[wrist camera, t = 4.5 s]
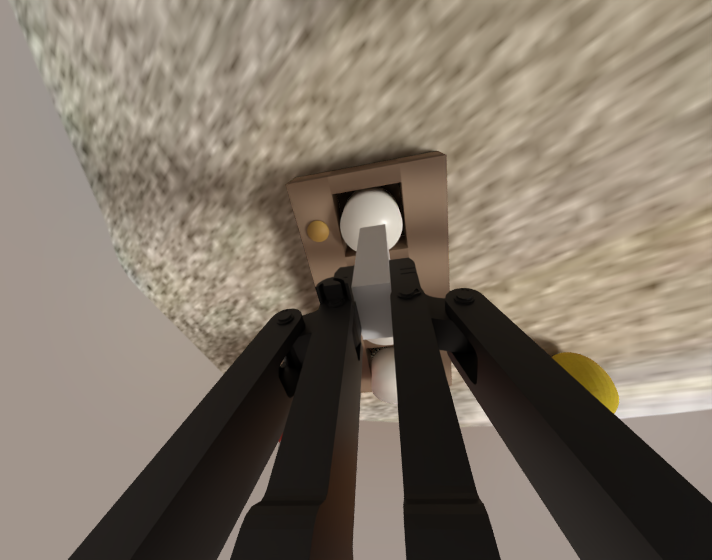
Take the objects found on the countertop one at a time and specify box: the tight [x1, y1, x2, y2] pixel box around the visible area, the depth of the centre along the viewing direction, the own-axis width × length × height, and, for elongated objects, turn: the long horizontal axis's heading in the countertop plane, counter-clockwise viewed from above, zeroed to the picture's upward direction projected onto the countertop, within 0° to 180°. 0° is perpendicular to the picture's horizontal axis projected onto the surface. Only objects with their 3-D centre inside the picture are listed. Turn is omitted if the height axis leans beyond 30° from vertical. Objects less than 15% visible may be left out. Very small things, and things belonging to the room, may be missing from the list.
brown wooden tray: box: [286, 151, 452, 393], centre depth 28 cm, size 24×12×3 cm, turn 10°
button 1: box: [340, 187, 403, 252], centre depth 23 cm, size 5×5×3 cm
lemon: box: [552, 352, 619, 414], centre depth 29 cm, size 6×6×8 cm
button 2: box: [372, 347, 398, 404], centre depth 29 cm, size 5×5×3 cm
